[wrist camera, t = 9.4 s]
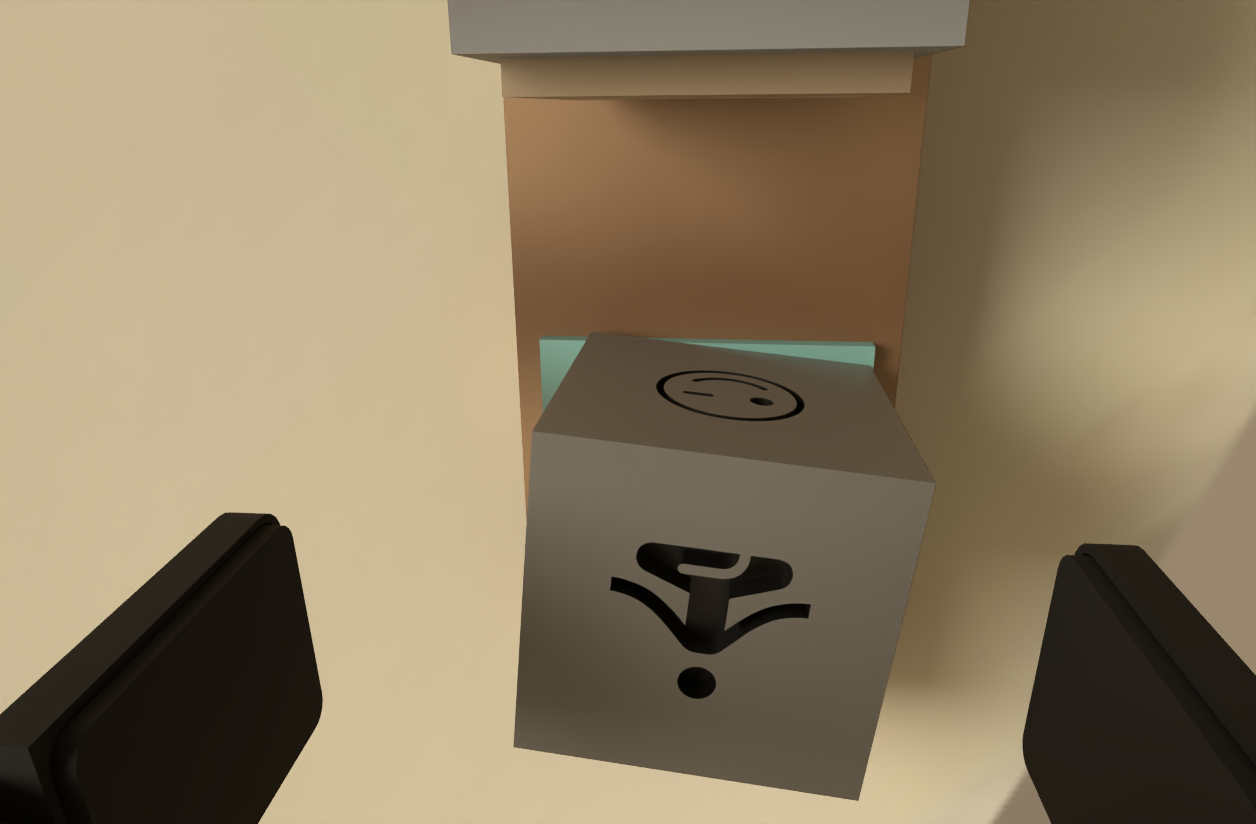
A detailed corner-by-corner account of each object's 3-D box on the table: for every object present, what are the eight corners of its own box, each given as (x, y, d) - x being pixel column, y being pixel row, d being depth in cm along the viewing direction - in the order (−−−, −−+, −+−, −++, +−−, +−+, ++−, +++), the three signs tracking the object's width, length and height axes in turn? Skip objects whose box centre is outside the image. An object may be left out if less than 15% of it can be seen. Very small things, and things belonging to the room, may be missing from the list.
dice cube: (869, 365, 15) (935, 482, 10) (821, 605, 17) (857, 800, 12) (591, 331, 15) (531, 431, 11) (572, 571, 17) (513, 747, 12)
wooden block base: (522, -316, 15) (256, -871, 6) (932, -342, 14) (1239, -1008, 6) (562, 646, 22) (458, 989, 13) (840, 662, 21) (918, 1037, 12)
